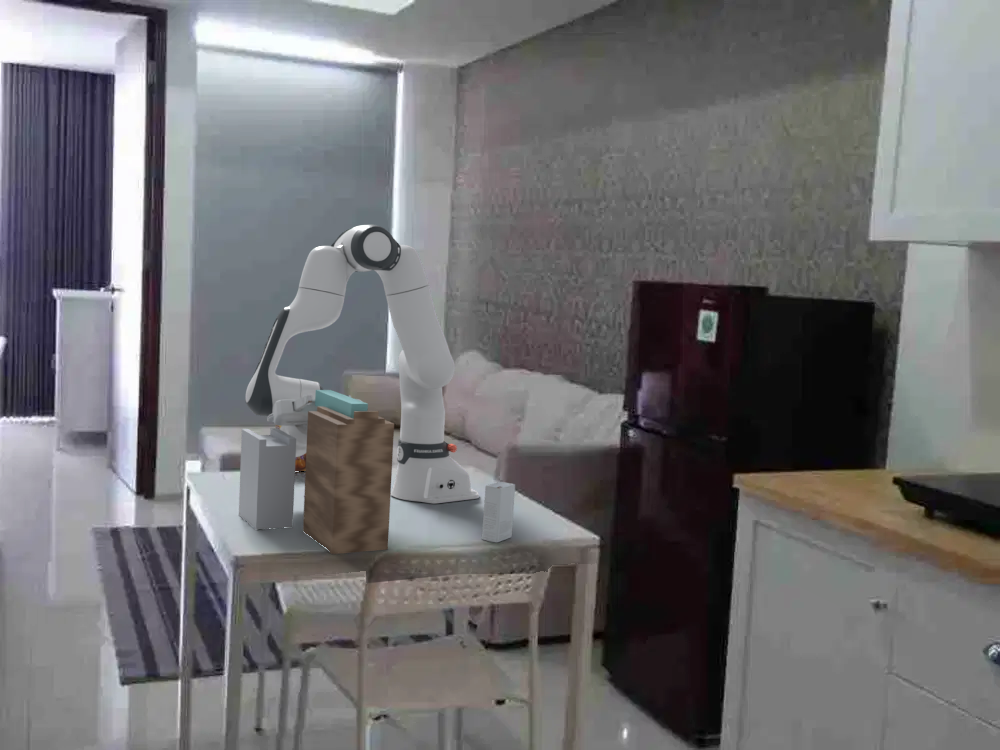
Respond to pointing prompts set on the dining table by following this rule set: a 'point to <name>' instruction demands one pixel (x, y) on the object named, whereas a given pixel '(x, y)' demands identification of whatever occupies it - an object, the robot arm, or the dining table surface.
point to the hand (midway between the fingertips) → (328, 398)
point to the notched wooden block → (348, 480)
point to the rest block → (267, 479)
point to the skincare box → (498, 511)
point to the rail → (339, 402)
